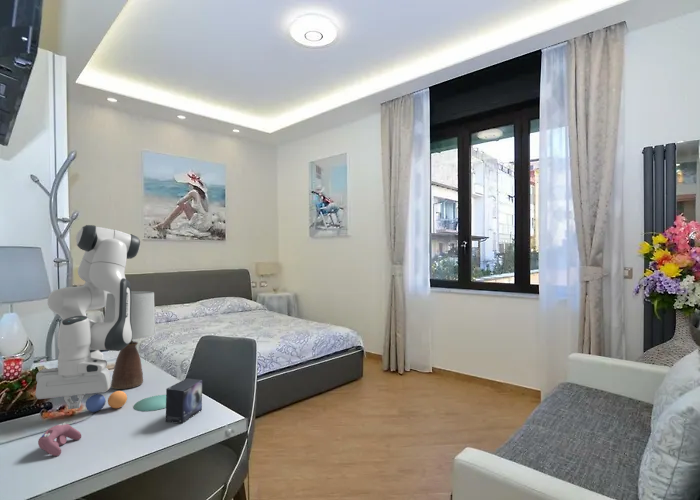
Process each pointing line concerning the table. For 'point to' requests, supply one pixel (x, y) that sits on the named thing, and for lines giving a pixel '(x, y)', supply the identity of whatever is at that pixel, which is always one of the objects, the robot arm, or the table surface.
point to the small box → (183, 400)
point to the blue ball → (95, 402)
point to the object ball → (117, 399)
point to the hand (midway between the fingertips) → (74, 408)
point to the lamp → (142, 327)
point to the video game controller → (59, 433)
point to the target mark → (151, 403)
